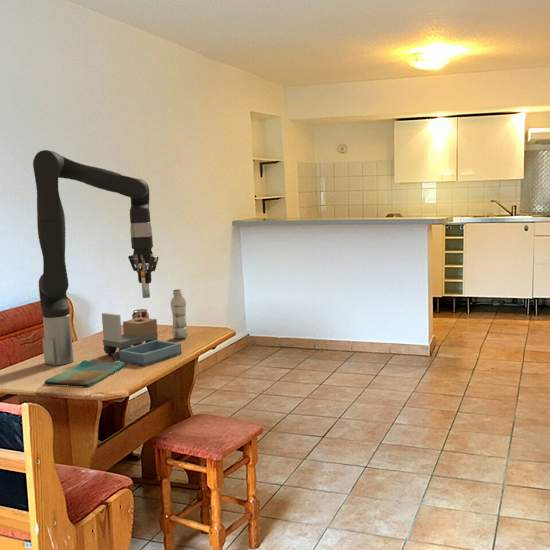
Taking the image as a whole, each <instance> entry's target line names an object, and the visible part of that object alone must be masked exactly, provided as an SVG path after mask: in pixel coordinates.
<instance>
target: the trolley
mask: <svg viewBox="0 0 550 550" xmlns="http://www.w3.org/2000/svg"><path fill="white" fill-rule="evenodd" d="M101 321H102V322H101V323H102V335H103V336H102V337H103V339H102V344H103V351H104V353H105V354H107V355H112V360H113V359H114V361H120V357H119V351H120V350H123V349H127V348H130V347H134V346H137V345H141V344H143V342H145V343H147V342H151V341H154V340H158V337H159V335H158V323H157V321H158V320H157V319H156V318H150V317H149V318H142V317H140V318H136V319H128V320H125V321H122V323H121V314H117V313H110V312H109V313H108V312H102V313H101ZM122 329H123V333H122ZM117 348H118V351H117Z"/></svg>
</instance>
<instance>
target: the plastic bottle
mask: <svg viewBox="0 0 550 550" xmlns="http://www.w3.org/2000/svg"><path fill="white" fill-rule="evenodd" d="M172 295H173V297H172V298H171V300H170V303H169V304H170V309H171V316H172V329H171V334H172V335H171V336H172V337H173V338H174V339H175V340H182V338H183V339H186V338H187V337H188V336H189V330H188V326H187V325H188V324H187V320H186V319H187V317H186V313H187V301H186V299H185V298H184V296H183V290H182V289H179V288H178V289H173V290H172Z"/></svg>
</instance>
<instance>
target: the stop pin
mask: <svg viewBox="0 0 550 550" xmlns="http://www.w3.org/2000/svg"><path fill="white" fill-rule="evenodd" d="M140 272H141V283H140V284H141V292H142V293H141V294H142V299H149V298H151V294H150V293H151V292H150V283H149V284H146V283H145V271H144V270H140Z"/></svg>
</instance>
